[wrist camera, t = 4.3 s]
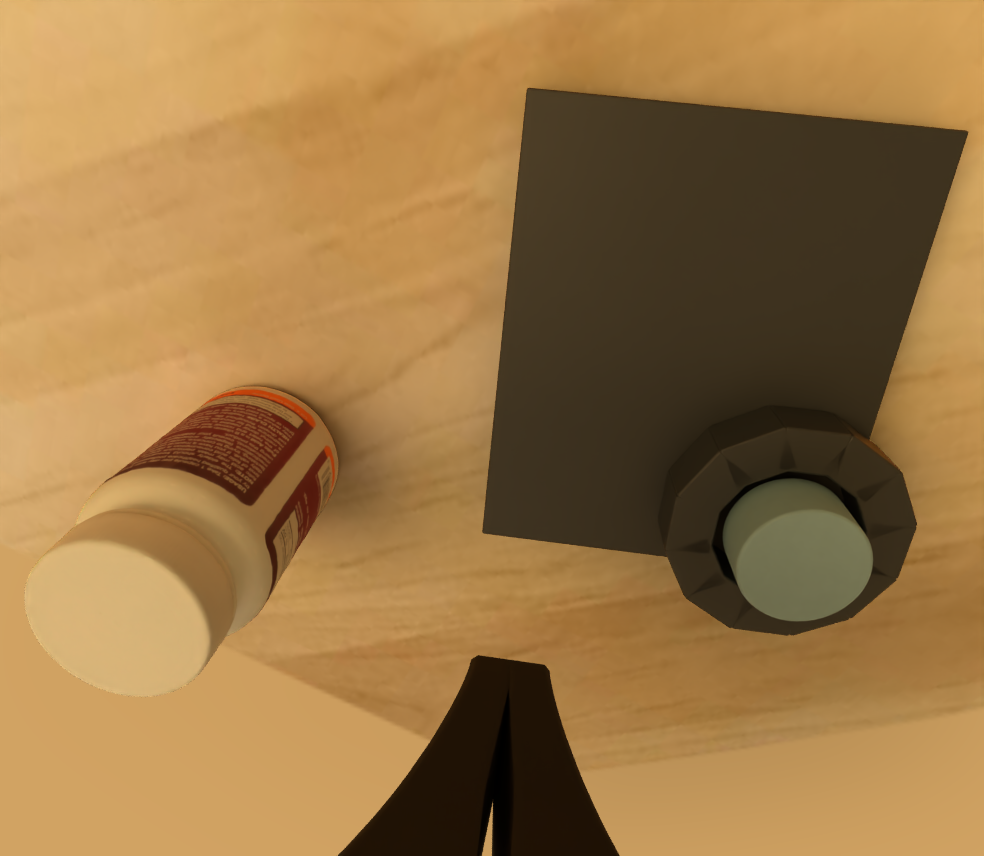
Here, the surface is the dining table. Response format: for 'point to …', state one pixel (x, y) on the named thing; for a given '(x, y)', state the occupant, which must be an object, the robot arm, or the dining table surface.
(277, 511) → the pill bottle
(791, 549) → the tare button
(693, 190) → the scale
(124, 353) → the dining table surface
